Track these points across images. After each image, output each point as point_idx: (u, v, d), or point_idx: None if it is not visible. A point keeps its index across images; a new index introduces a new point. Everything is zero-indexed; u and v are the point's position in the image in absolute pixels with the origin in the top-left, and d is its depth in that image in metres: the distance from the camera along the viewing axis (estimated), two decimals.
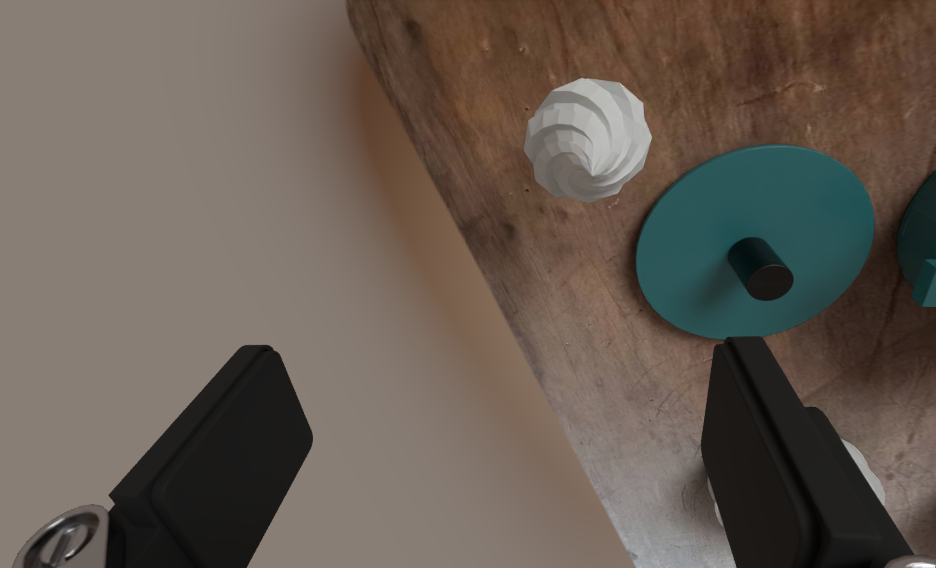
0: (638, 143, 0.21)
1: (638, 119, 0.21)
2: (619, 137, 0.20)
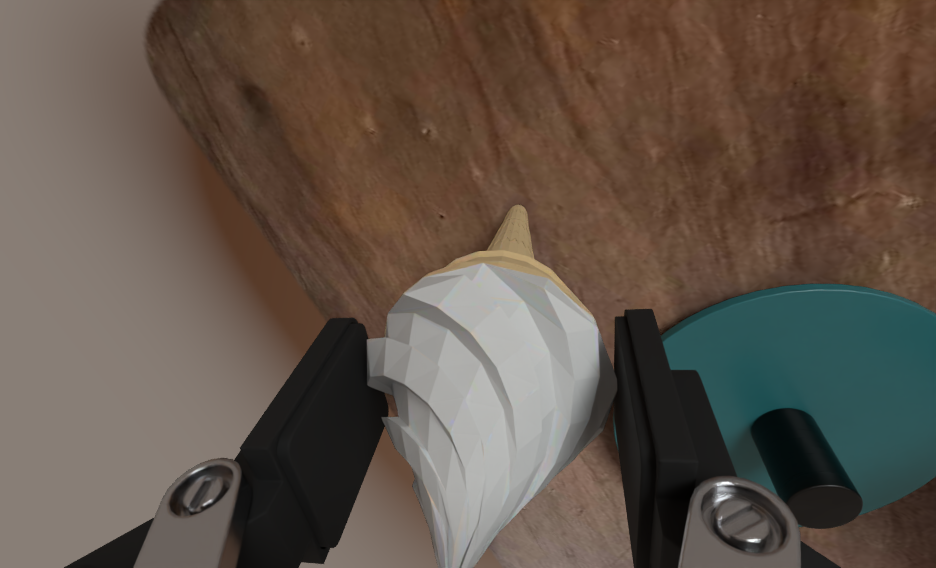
0: (587, 416, 0.10)
1: (586, 368, 0.09)
2: (537, 433, 0.09)
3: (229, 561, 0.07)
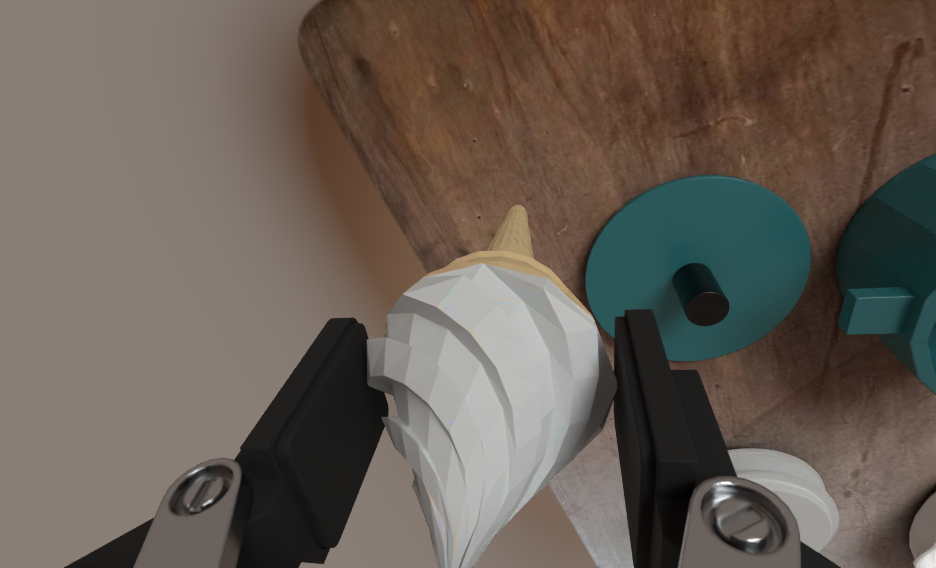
0: (587, 416, 0.10)
1: (585, 368, 0.09)
2: (536, 433, 0.09)
3: (229, 561, 0.07)
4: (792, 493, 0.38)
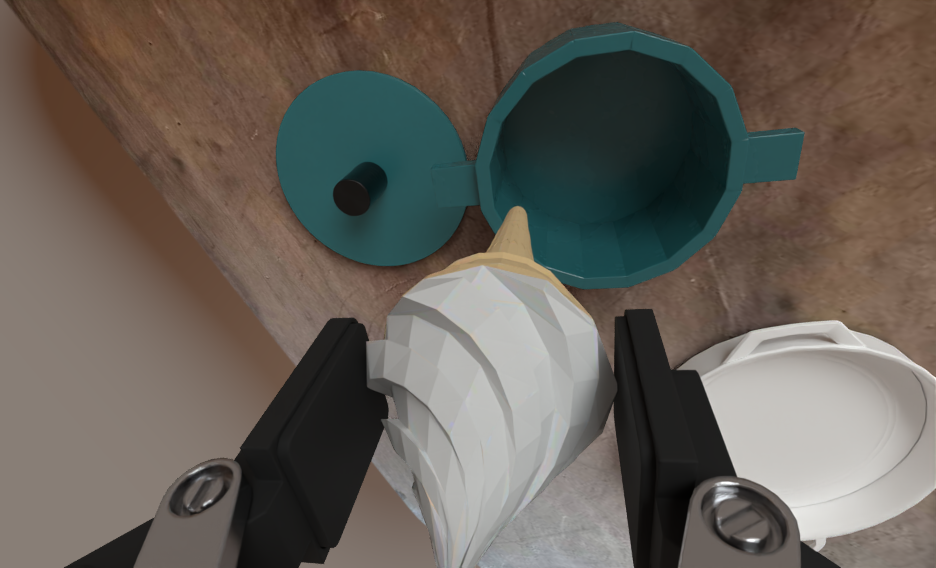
0: (587, 419, 0.10)
1: (585, 370, 0.09)
2: (536, 435, 0.09)
3: (229, 561, 0.07)
4: None
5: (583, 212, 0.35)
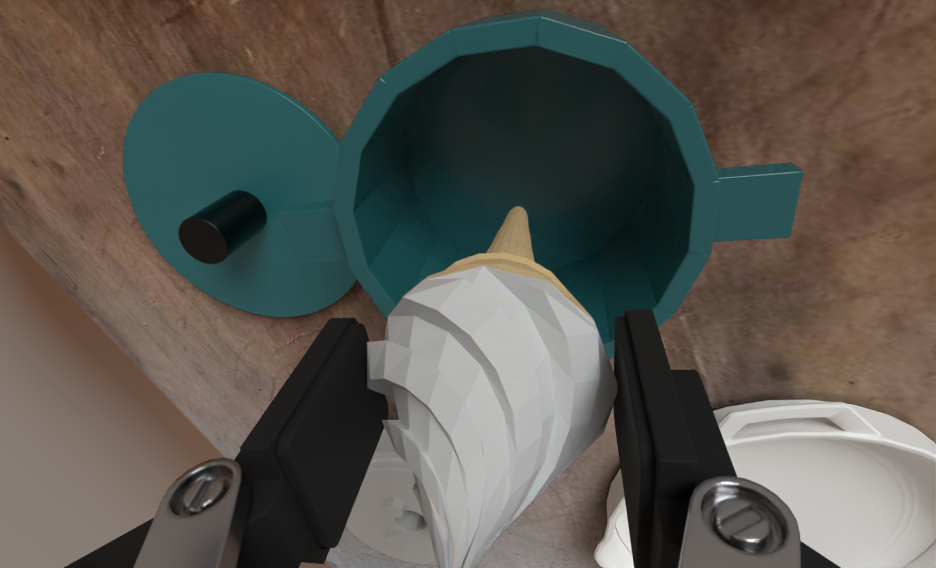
0: (588, 419, 0.10)
1: (586, 371, 0.09)
2: (537, 436, 0.09)
3: (229, 561, 0.07)
4: None
5: None
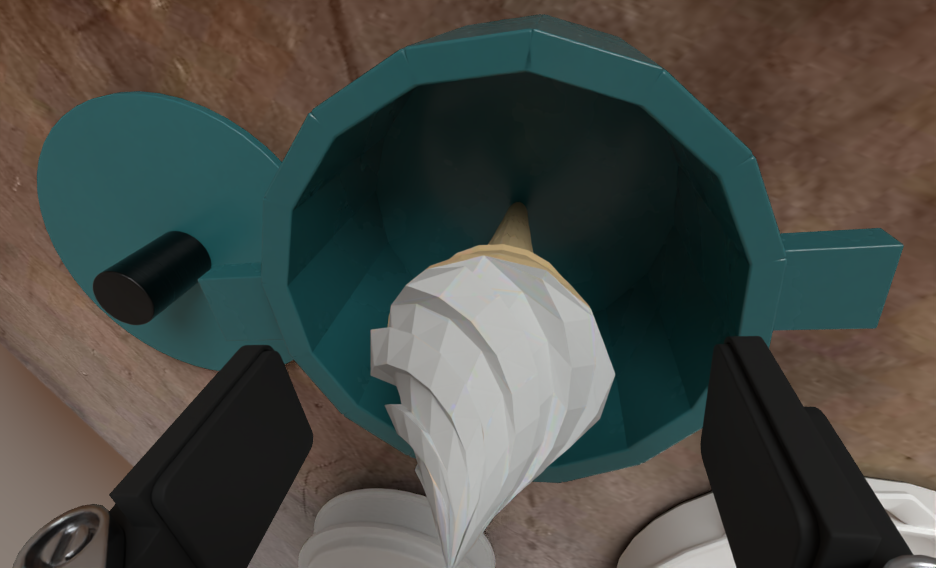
0: (584, 403, 0.10)
1: (583, 356, 0.10)
2: (535, 418, 0.09)
3: None
4: (401, 555, 0.28)
5: None
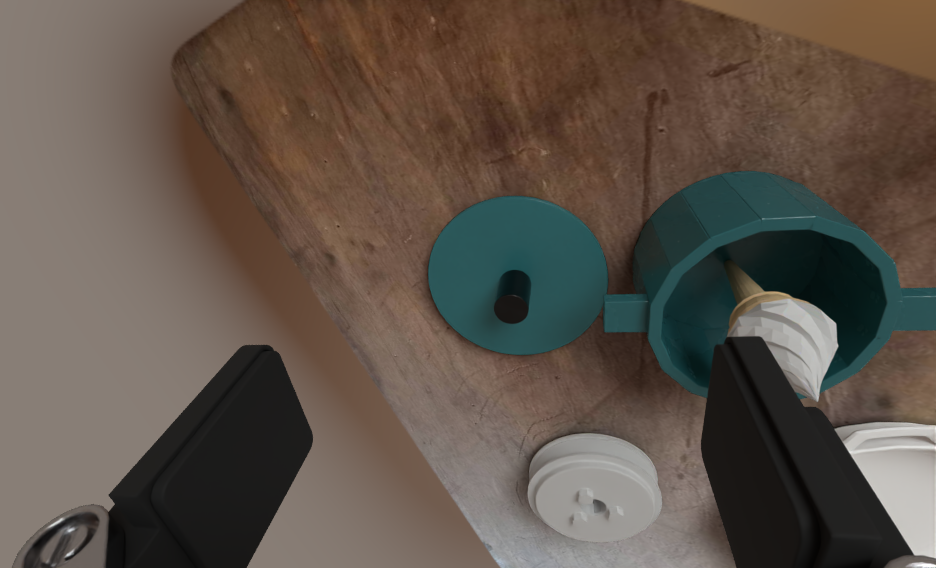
0: (832, 355, 0.26)
1: (834, 337, 0.26)
2: (824, 358, 0.25)
3: None
4: (615, 472, 0.44)
5: (708, 319, 0.39)
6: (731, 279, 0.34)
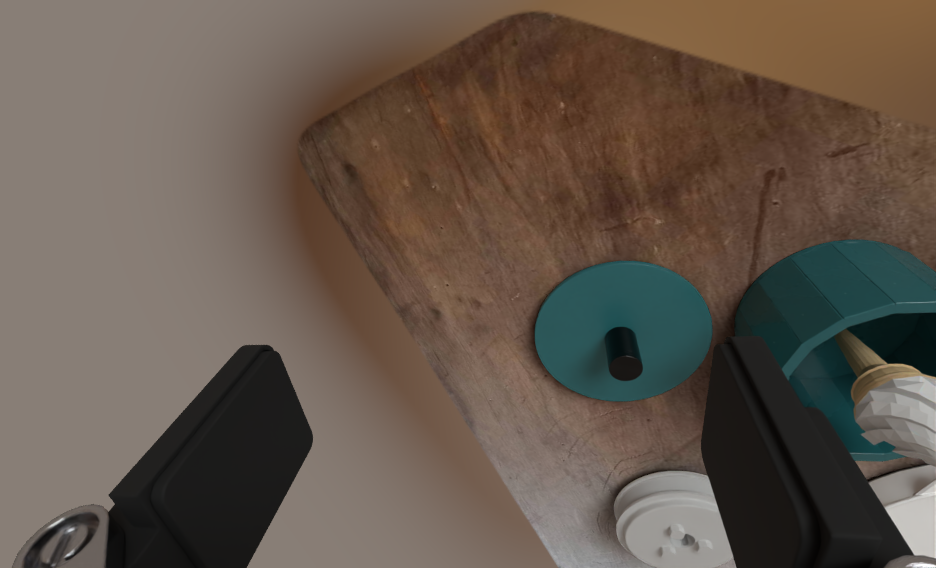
0: None
1: None
2: None
3: None
4: (707, 509, 0.46)
5: (805, 370, 0.41)
6: (840, 341, 0.36)
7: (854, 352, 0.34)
